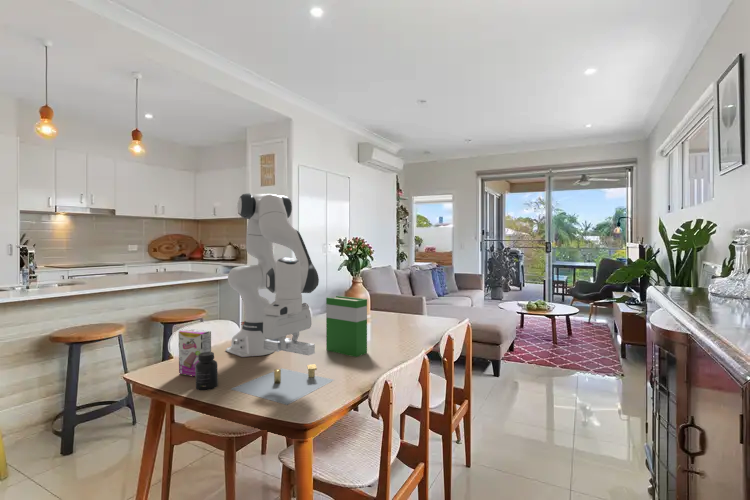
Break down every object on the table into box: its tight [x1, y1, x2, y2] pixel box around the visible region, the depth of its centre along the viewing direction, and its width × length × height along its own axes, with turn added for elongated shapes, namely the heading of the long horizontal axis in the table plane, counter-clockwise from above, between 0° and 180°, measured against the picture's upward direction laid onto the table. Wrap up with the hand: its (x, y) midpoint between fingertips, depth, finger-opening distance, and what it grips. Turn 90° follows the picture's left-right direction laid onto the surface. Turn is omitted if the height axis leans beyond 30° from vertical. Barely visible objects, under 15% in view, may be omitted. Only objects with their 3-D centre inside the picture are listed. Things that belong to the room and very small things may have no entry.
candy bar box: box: [178, 328, 212, 377], centre depth 144 cm, size 11×5×16 cm, turn 71°
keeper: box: [306, 363, 318, 378], centre depth 138 cm, size 3×5×4 cm, turn 15°
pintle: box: [273, 368, 281, 384], centre depth 134 cm, size 2×2×4 cm
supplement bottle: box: [195, 351, 219, 392], centre depth 130 cm, size 7×7×12 cm
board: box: [230, 367, 335, 406], centre depth 132 cm, size 25×24×1 cm
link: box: [264, 337, 316, 356], centre depth 130 cm, size 18×6×3 cm, turn 60°
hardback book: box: [325, 295, 368, 358], centre depth 174 cm, size 18×7×24 cm, turn 54°
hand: (289, 347), depth 131 cm, fingers closed on link, 3 cm apart
